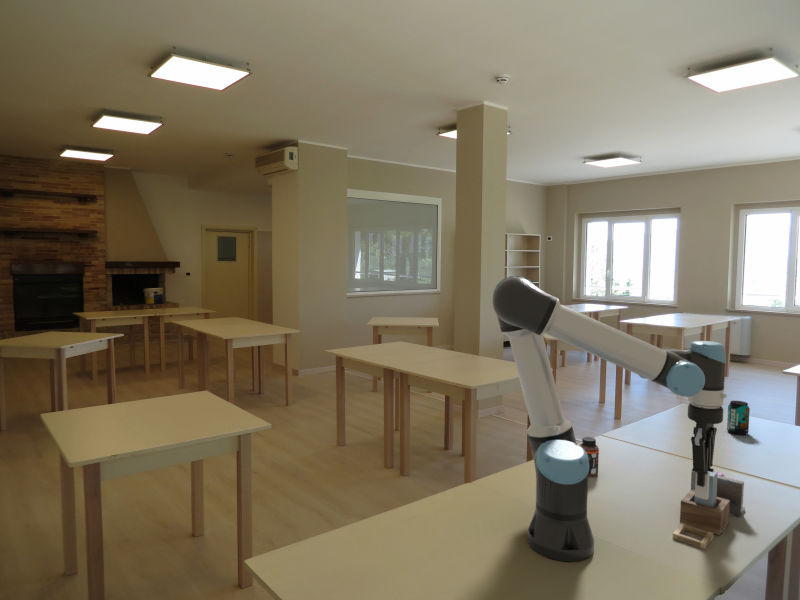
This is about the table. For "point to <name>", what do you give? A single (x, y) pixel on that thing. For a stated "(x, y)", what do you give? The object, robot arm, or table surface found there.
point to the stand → (702, 544)
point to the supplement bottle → (591, 454)
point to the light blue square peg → (710, 491)
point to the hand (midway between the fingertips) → (701, 497)
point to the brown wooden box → (705, 514)
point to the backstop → (728, 492)
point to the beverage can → (738, 417)
